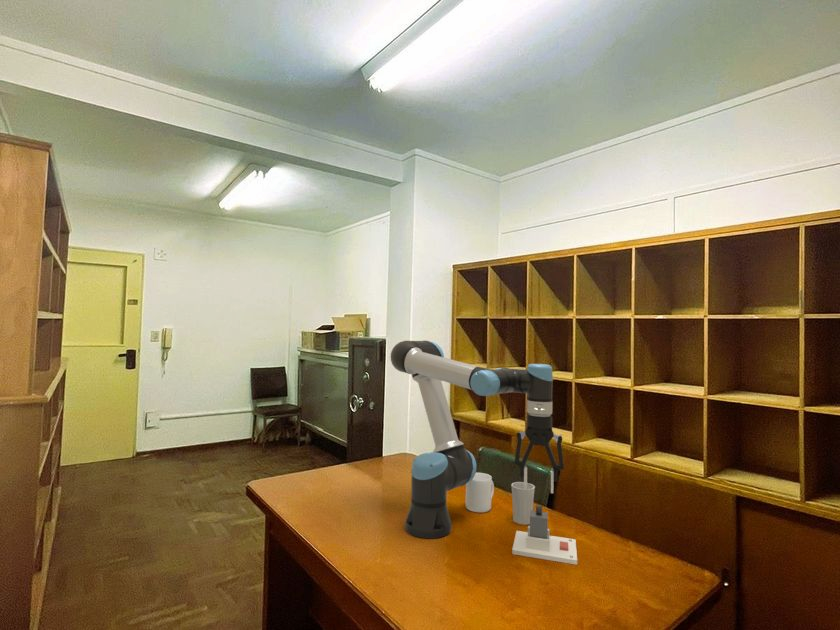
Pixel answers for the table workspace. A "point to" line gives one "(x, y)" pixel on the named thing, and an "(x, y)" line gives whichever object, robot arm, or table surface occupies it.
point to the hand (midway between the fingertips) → (538, 490)
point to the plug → (538, 523)
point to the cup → (522, 502)
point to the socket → (545, 547)
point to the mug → (479, 493)
